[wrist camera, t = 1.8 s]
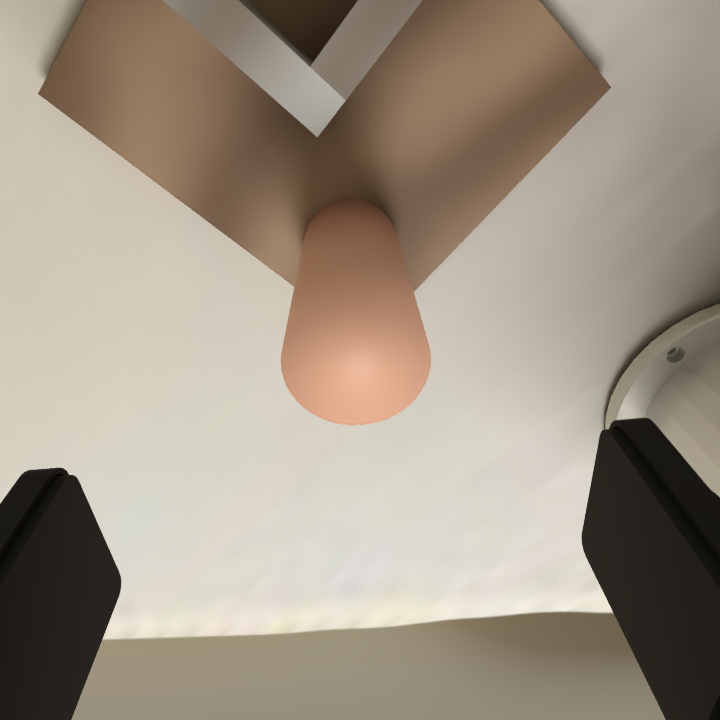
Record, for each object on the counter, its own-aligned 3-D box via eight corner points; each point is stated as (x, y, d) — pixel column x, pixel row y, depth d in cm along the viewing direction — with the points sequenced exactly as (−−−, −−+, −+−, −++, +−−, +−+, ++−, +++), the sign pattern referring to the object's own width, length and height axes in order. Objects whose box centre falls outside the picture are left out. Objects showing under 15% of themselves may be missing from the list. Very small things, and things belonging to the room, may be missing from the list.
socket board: (598, 85, 22) (665, 95, 17) (365, 329, 27) (370, 386, 22) (267, -310, 16) (238, -448, 12) (53, 91, 21) (-25, 103, 17)
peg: (416, 240, 23) (461, 356, 15) (355, 306, 25) (363, 447, 16) (344, 177, 22) (346, 264, 13) (284, 251, 23) (250, 373, 15)
